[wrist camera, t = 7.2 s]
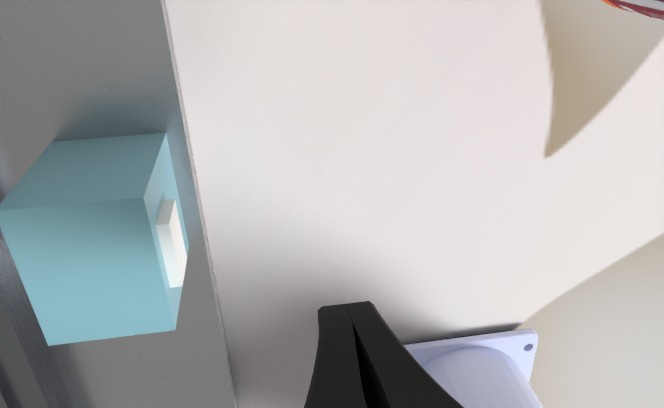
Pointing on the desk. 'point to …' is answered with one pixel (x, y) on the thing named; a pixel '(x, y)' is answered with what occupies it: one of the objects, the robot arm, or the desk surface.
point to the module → (99, 238)
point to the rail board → (88, 123)
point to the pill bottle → (640, 7)
